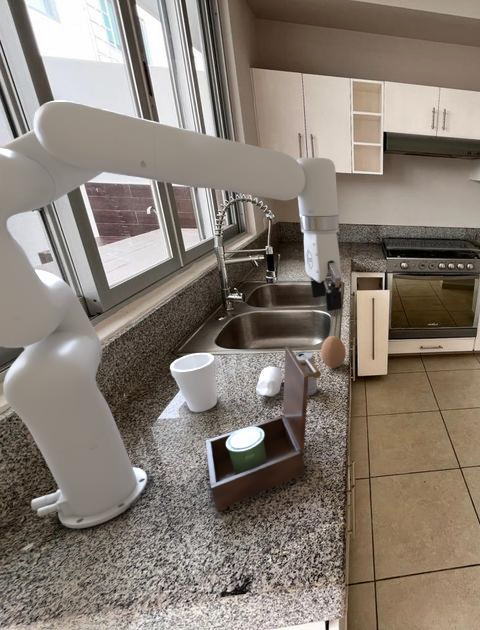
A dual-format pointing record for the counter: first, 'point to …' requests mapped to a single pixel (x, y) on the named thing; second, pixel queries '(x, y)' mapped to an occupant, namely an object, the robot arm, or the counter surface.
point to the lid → (297, 394)
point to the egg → (333, 352)
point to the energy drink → (311, 380)
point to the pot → (247, 449)
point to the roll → (269, 382)
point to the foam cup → (196, 380)
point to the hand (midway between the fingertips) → (326, 302)
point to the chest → (279, 469)
